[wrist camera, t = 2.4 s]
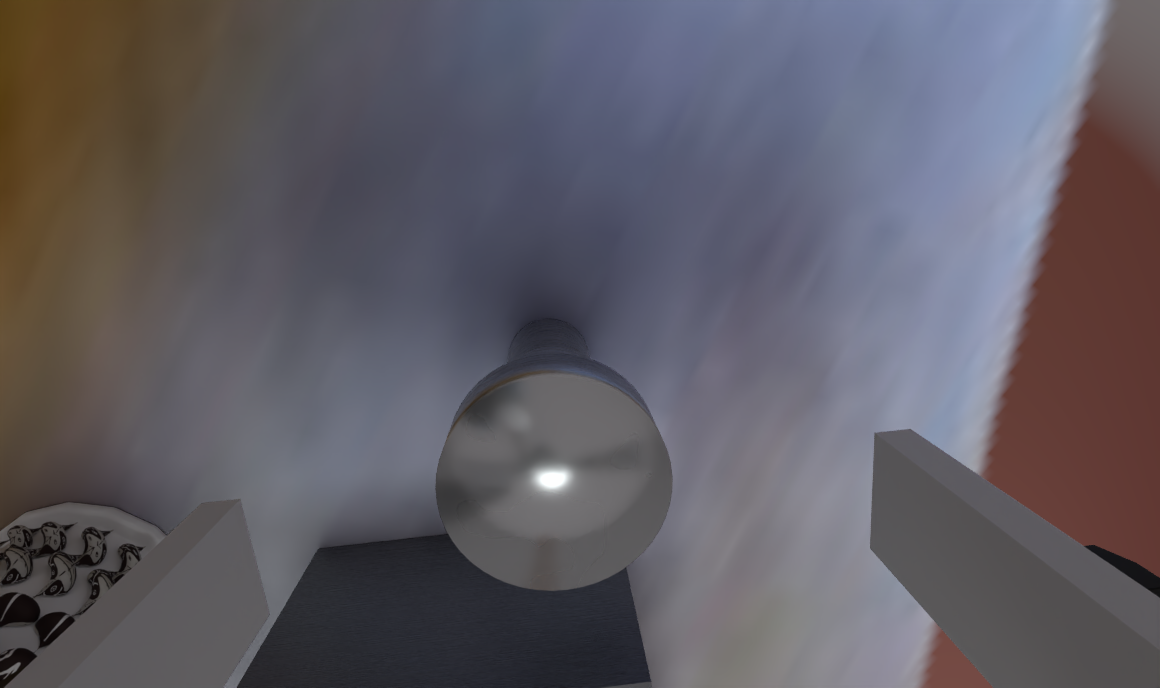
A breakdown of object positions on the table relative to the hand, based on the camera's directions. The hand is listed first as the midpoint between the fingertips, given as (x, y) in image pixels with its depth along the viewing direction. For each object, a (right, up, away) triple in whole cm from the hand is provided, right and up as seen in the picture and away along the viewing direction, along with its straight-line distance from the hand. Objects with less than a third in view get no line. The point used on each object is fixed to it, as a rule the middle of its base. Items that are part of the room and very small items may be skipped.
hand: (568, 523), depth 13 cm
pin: (-1, +3, +10) cm, 11 cm away
